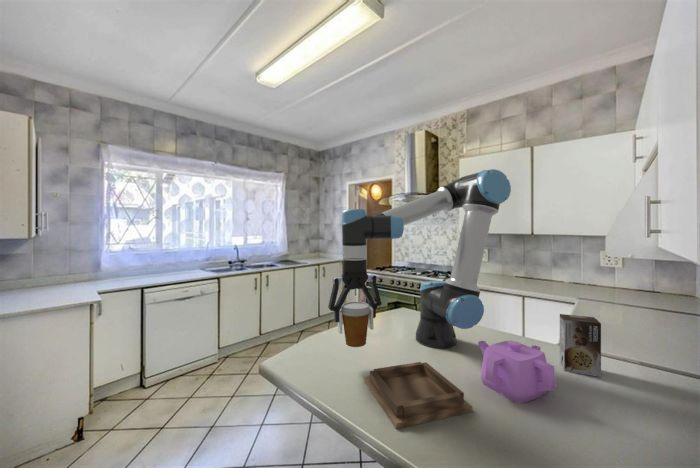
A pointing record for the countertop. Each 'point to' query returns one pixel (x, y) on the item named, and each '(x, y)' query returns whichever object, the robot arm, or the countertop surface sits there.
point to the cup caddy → (415, 394)
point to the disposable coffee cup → (355, 322)
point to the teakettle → (516, 370)
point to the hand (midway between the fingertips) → (355, 330)
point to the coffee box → (580, 344)
